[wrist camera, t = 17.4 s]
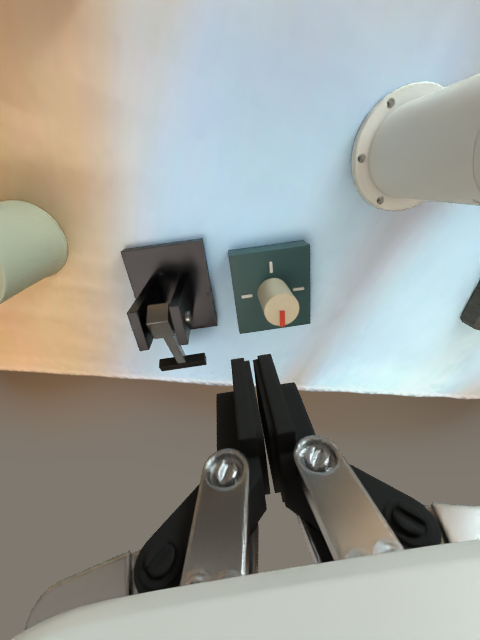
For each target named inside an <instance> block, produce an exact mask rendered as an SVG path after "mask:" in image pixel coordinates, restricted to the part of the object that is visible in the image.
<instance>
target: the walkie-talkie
mask: <svg viewBox="0 0 480 640" xmlns="http://www.w3.org/2000/svg"><path fill="white" fill-rule="evenodd" d="M461 320H462V322H464V323H465V324H467V325H469V326H471V327H473V328H474V329H477V330H480V283H479V284H478V286H477V288H476V290H475V292H474V294H473V295H472V297H471V299H470V301H469V303H468V305H467V307H466V308H465V310H464V312H463V314H462V316H461Z"/></svg>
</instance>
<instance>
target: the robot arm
mask: <svg viewBox="0 0 480 640" xmlns="http://www.w3.org/2000/svg"><path fill="white" fill-rule="evenodd" d="M387 103H388V107H387ZM358 156H359V157H360V160H359V161H358ZM351 170H352V177H353V181H354V184H355V187H356V189H357V191H358V193H359V194H360V195H361V197H362V198H363V199H364V200H365V201H366V202H367V203H369V204H370V205H372V206H374V207H376V208H378V209H383V210H388V211H399V210H405V209H408V208H411V207H414V206H416V205H418V204H420V203H422V202H424V201H425V200H427V201H437V202H448V203H458V204H468V205H479V206H480V73H479V74H477V75H474V76H472V77H469V78H467V79H464V80H462V81H459V82H457V83H454V84H452V85H449V86H447V87H442V86H441V85H439V84H436V83H432V82H415V83H411V84H407V85H405V86H403V87H401V88H398V89H396V90H395V91H393V92H391V93H390V94H388V95H386V96H385V97H384V98H383V99H382V100H381V101H379V102H378V103H377V104H376V105H375V106H374V108H373V109H372V110H371V111H370V112H369V114H368V115H367V116H366V118H365V120H364V121H363V123H362V125H361V126H360V129H359V131H358V134H357V136H356V138H355V142H354V146H353V150H352V158H351ZM377 199H378V201H377ZM253 364H254V372H255V381H256V389H257V397H258V404H257V399H256V394H255V388H254V383H253V378H252V373H251V368H250V362H249V361H244V358H239V359H232V360H231V366H232V377H233V388H234V391H233V392H226V393H220V394H217V452H215V453H213V454H212V455H211V456H210V457H209V458H208V459H207V461H206V462H205V464H204V467H203V470H202V475H201V481H200V484H199V485H198V486H197V487H196V489H195V490H194V491H193V492H192V493H191V494H190V495H189V496H188V497H187V498H186V500H185V501H184V502H183V503H182V504H181V505H180V506H179V507H178V509H176V510H175V512H174V513H173V514H172V515H171V516H170V517H169V518H168V519H167V520H166V521H165V522H164V523H163V525H162V526H161V527H160V528H159V529H158V530H157V531H156V532H155V533H154V534H153V536H152V537H151V538H150V539H149V540H148V541H147V542H146V544H145V545H144V546H143V548H142V549H141V550H139V551H137V552H135V553H132V554H131V552H130V551H128V552H126V553H123V554H121V555H119V556H116V557H114V558H111V559H109V560H107V561H104V562H102V563H100V564H97V565H95V566H93V567H90V568H88V569H86V570H84V571H81V572H79V573H77V574H74V575H72V576H69V577H67V578H65V579H63V580H60V581H59V582H57V583H55V584H54V585H52V586H51V587H49V588H48V589H47V591H45V592H44V594H43V595H41V596H40V598H39V599H38V601H37V602H36V604H35V606H34V607H33V609H32V610H31V613H30V615H29V618H28V621H27V623H26V627H25V631H24V632H22V633H20V634H18V635H17V636H16V637H14V638H13V639H11V640H480V507H478V506H467V505H456V504H445V503H433V502H432V505H431V506H428V505H422V504H421V503H420V502H418V501H416V500H415V499H413V498H412V497H410V496H408V495H406V494H404V493H402V492H400V491H398V490H396V489H394V488H393V487H391V486H389V485H387V484H386V483H384V482H382V481H380V480H378V479H376V478H374V477H372V476H371V475H369V474H367V473H365V472H363V471H361V470H359V469H358V468H356V467H354V466H352V465H350V464H349V463H348V462H347V460H346V459H345V457H344V456H343V454H342V452H341V451H340V449H339V448H338V447H337V446H336V445H335V443H334V442H332V441H331V440H329V439H328V438H325V437H322V436H316V435H315V432H314V430H313V427H312V424H311V422H310V420H309V417H308V415H307V412H306V409H305V407H304V404H303V402H302V399H301V397H300V394H299V392H298V389H297V387H296V384H295V383H294V382H293V383H286V384H280V382H279V379H278V375H277V372H276V369H275V366H274V363H273V360H272V357H271V354H266V355H260V356H258V359H256V360H253ZM258 406H259V409H258ZM259 413H260V414H259ZM260 418H261V420H260ZM261 423H262V425H261ZM262 429H263V430H262ZM263 434H264V436H263ZM264 439H265V444H266V449H267V454H268V460H269V465H270V469H271V475H272V479H273V485H274V491H275V493H279V492H281V496H282V500H283V502H285V505H286V507H287V508H289V509H290V510H292V511H293V512H294V513H296V515H297V519H298V522H299V525H300V527H301V530H302V532H303V535H304V537H305V540H306V542H307V545H308V548H309V550H310V553H311V555H312V558H313V560H314V563H315V564H313V565H306V566H300V567H295V568H288V569H282V570H276V571H269V572H264V573H258V542H259V541H258V540H259V539H258V537H259V536H258V535H259V527H258V521H259V520H260V518H261V517H262V515H263V514H264V512H265V511H266V509H267V508H266V501H265V495H266V494H270V487H269V478H268V470H267V461H266V452H265V445H264Z"/></svg>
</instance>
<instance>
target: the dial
mask: <svg viewBox="0 0 480 640" xmlns="http://www.w3.org/2000/svg"><path fill="white" fill-rule="evenodd" d="M258 298H259V301H260V304H261V306H262V309H263V312H264V315H265V317H266V319H267V320H268V321H269V322H270V323H271V324H273V325H277V326H280V327H284V326H285V325H287V324H289V323H291V322H292V321H293V320H294V319H295V318H296V317H297V315H298V313H299V303H298V301H297V299H296V298H295V297H294V295H293V294H292V292H291V291H290V289H289V288H288V286H287V285H286V284H285V282H284V281H282V280H281V279H278V278H270V279H267V280H265V281H264V282H263V283H262V284H261V285H260V287H259V289H258Z"/></svg>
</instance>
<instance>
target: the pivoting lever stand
mask: <svg viewBox="0 0 480 640" xmlns="http://www.w3.org/2000/svg"><path fill="white" fill-rule="evenodd" d="M121 255H122V258H123V261H124V264H125V267H126V270H127V273H128V276H129V280H130V283H131V286H132V289H133V292H134V295H135V298H136V300H135V302H134V303H133V305H132V306H131V308H130V309H129V311H128V312H127V315H128V318H129V321H130V324H131V328H132V330H133V332H134V335H135V338H136V341H137V344H138V347H139V350H140V351H144V350H149V349H150V346H151V344H152V341H153V339H154V337H153V335H152V333H151V332H150V330H149V328H148V327H147V325H146V318H147V306H148V305H155V304H162V303H169V311H170V315H171V319H172V322H173V326H174V330H175V334H176V337H177V341H178V345H186V344H188V342H189V335H190V330H191V329H197V328H204V327H211V326H217V317H216V312H215V306H214V301H213V295H212V289H211V284H210V278H209V273H208V267H207V261H206V256H205V250H204V245H203V239H202V238H201V239H193V240H186V241H179V242H172V243H165V244H157V245H150V246H143V247H136V248H129V249H124V250H122V251H121Z"/></svg>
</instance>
